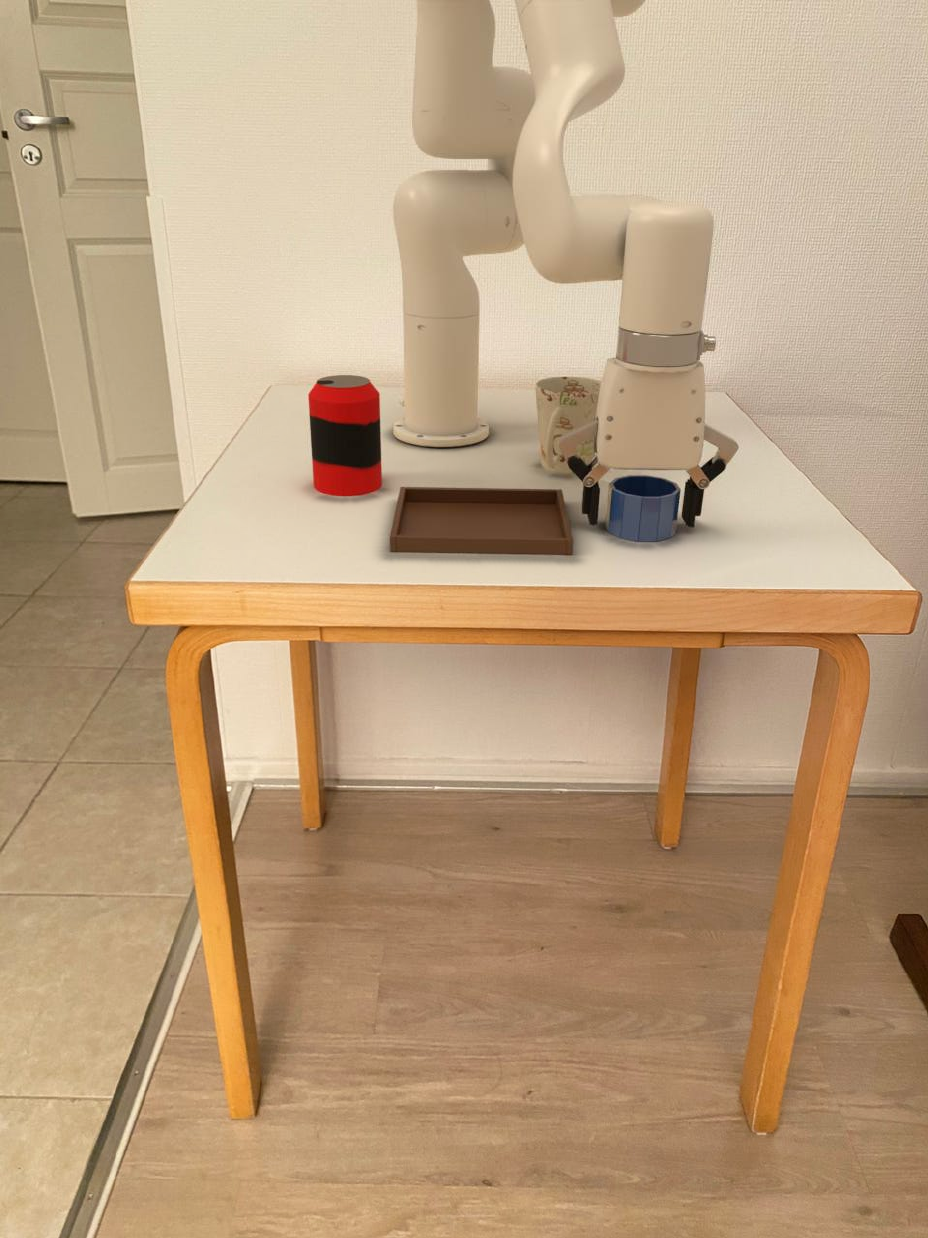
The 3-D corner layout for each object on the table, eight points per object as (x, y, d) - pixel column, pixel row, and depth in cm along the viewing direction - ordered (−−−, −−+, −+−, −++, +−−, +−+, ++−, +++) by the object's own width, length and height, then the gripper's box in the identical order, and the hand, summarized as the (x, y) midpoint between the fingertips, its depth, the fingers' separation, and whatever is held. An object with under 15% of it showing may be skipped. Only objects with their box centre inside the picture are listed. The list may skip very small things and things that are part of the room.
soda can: (307, 481, 111) (301, 375, 106) (372, 474, 113) (368, 371, 108) (322, 503, 105) (316, 392, 99) (390, 495, 107) (387, 386, 102)
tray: (390, 556, 92) (389, 536, 91) (400, 504, 105) (400, 486, 104) (572, 559, 92) (573, 540, 91) (560, 506, 105) (561, 489, 104)
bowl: (592, 528, 99) (595, 481, 97) (642, 516, 102) (647, 471, 100) (636, 551, 94) (641, 502, 92) (688, 537, 97) (694, 490, 95)
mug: (608, 462, 119) (615, 380, 114) (585, 495, 108) (591, 406, 104) (542, 454, 121) (546, 373, 117) (513, 486, 111) (516, 398, 106)
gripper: (741, 341, 93) (717, 509, 101) (560, 338, 93) (551, 506, 101) (761, 358, 87) (734, 537, 95) (567, 355, 87) (556, 534, 95)
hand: (639, 521), depth 98 cm, fingers open, 9 cm apart
